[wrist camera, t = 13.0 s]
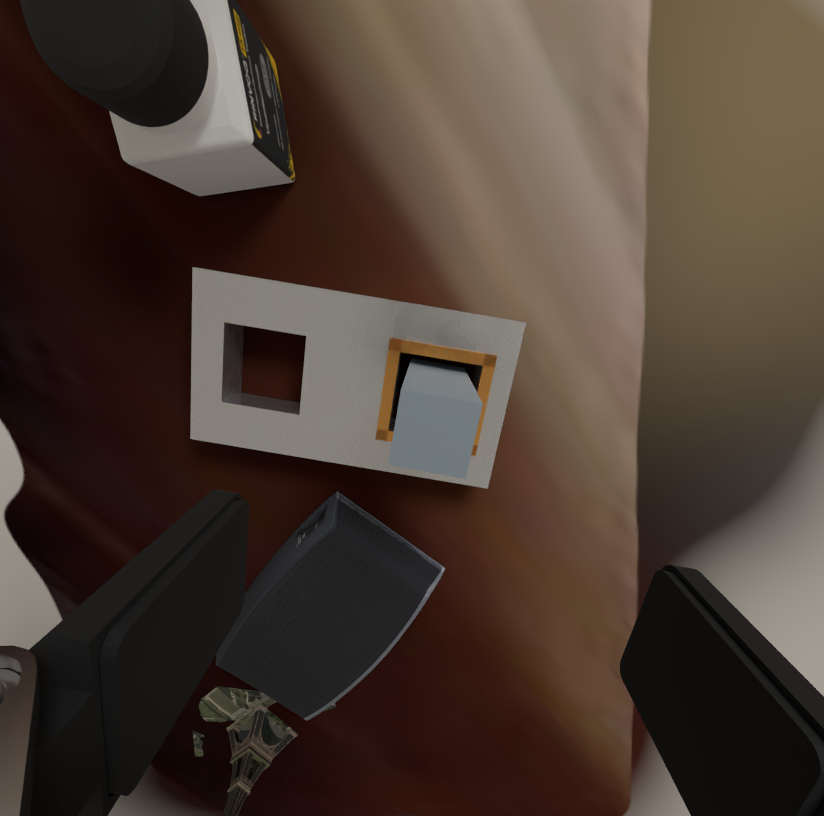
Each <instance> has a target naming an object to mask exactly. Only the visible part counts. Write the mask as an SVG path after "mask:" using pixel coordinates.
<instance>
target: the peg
mask: <svg viewBox="0 0 824 816" xmlns="http://www.w3.org/2000/svg"><path fill="white" fill-rule="evenodd" d="M482 406H483V403H482V401H481V399H480V397H479V395H478V394H477V392H476V390H475V388H474V386H473V384H472V382H471V380H470V378H469V376H468V374H467V372H466V371H465V369H464V368H463V367H458V366H452V365H447V364H441V363H436V362H430V361H425V360H420V359H414V358H411V361H410V364H409V367H408V370H407V373H406V376H405V379H404V382H403V385H402V388H401V393H400V398H399V404H398V410H397V416H396V421H395V427H394V433H393V439H392V444H391V450H390V456H389V462H388V465H391V466H397V467H402V468H408V469H413V470H419V471H424V472H430V473H435V474H441V475H446V476H452V477H457V478H463V479H466V475H467V470H468V466H469V462H470V458H471V453H472V449H473V445H474V440H475V436H476V432H477V427H478V423H479V419H480V415H481V410H482Z"/></svg>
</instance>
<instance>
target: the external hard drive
mask: <svg viewBox="0 0 824 816" xmlns="http://www.w3.org/2000/svg"><path fill="white" fill-rule="evenodd" d="M444 570H445V568H444V567H443V566H442V565H441V564H439V563H438V562H436V561H435V560H433V559H432V558H430V557H429V556H428V555H426V554H425V553H423V552H422V551H421V550H419V549H418V548H416V547H415V546H414V545H412V544H411V543H410V542H408V541H407V540H405V539H404V538H403V537H401V536H400V535H398V534H397V533H396V532H394V531H393V530H391V529H390V528H389V527H387V526H386V525H384V524H383V523H382V522H380V521H379V520H377V519H376V518H375V517H373V516H372V515H370V514H369V513H368V512H366V511H365V510H363V509H362V508H360V507H359V506H358V505H356V504H355V503H353V502H352V501H351V500H349V499H348V498H346V497H345V496H344V495H342V494H341V493H339V492H338V491H337V492H336V493H335V494H333V495H332V496H330V497H329V498H328V499H327V500H326V501H325V502H324V503H322V504H321V505H320V506H319V507H318V508H317V509H316V510H315V511H314V512H313V513H312V514H311V515H310V516H309V517H308V518H307V519H306V520H305V521H304V522H303V523H302V524H301V526H300V527H299V528H298V529H297V530H296V531H295V532H294V533H293V534H292V535H291V536H290V537H289V539H288V540H287V541H286V542H285V543H284V544H283V545H282V547H281V548H280V549H279V550H278V551H277V552H276V554H275V555H274V556H273V557H272V558H271V560H270V561H269V562H268V563H267V565H266V566H265V567H264V568H263V570H262V571H261V572H260V574H259V575H258V576H257V578H256V579H255V580H254V582H253V583H252V584H251V586H250V587H249V589H248V590H247V591H246V593H245V594H244V603H243V607H242V610H241V612H240V615H239V617H238V618H237V620H236V622H235V623H234V625H233V627H232V628H231V630H230V632H229V633H228V635H227V637H226V638H225V640H224V642H223V643H222V645H221V647H220V648H219V650H218V652H217V654H216V665H217V666H219V667H220V668H222V669H224V670H226V671H227V672H229V673H231V674H232V675H234V676H236V677H237V678H239V679H241V680H242V681H244V682H246V683H247V684H249V685H251V686H252V687H254V688H256V689H257V690H259V691H260V692H262V693H264V694H265V695H267V696H268V697H270V698H272V699H273V700H275V701H276V702H278V703H280V704H281V705H283V706H284V707H286V708H288V709H290V710H291V711H292V712H294V713H296V714H297V715H299V716H300V717H302V718H303V719H304V720H306V721H307V720H310V719H311V718H313V717H315V716H316V715H318V714H320V713H321V712H322V711H324V710H325V709H327V708H328V707H330V706H331V705H332V704H334V703H335V702H336V701H338V700H339V699H340V698H341V697H343V696H344V695H345V694H346V693H347V692H349V691H350V690H351V689H352V688H353V687H354V686H356V685H357V684H358V683H359V682H360V681H361V680H362V679H363V678H364V677H365V676H366V675H368V674H369V673H370V672H371V671H372V670H373V669H374V668H375V666H376V665H377V664H378V663H379V662H380V661H381V660H382V659H383V658H384V657H385V655H386V654H387V653H388V652H389V651H390V650H391V648H392V647H393V646H394V645H395V644H396V642H397V641H398V640H399V639H400V637H401V636H402V635H403V633H404V632H405V631H406V629H407V628H408V627H409V625H410V624H411V623H412V621H413V620H414V618H415V617H416V616H417V614H418V613H419V611H420V610H421V608H422V607H423V605H424V604H425V602H426V601H427V599H428V598H429V596H430V595H431V593H432V591H433V590H434V588H435V586H436V585H437V583H438V581H439V580H440V578H441V576H442V574H443V572H444Z"/></svg>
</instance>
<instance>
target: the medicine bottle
mask: <svg viewBox="0 0 824 816" xmlns="http://www.w3.org/2000/svg"><path fill="white" fill-rule="evenodd" d="M20 1H21V7H22V11H23V15H24V19H25V21H26V24H27V27H28V30H29V33H30V35H31V38H32V40H33V42H34V44H35V46H36V48H37V50H38V52H39V53H40V55H41V57H42V58H43V60H44V61H45V62H46V64H47V65H48V66H49V68H50V69H51V70H52V71H53V72H54V73H55V74H56V75H57V76H58V77H59V78H60V79H61V80H62V81H63V82H64V83H66V84H67V85H68V86H69V87H71V88H73V89H74V90H76V91H77V92H79V93H81V94H82V95H84V96H86V97H87V98H89V99H91V100H92V101H94V102H96V103H97V104H99V105H101V106H102V107H104V108H106V109H107V110H109V112H110V116H111V120H112V123H113V127H114V131H115V134H116V138H117V142H118V145H119V149H120V153H121V156H122V158H123V160H124V161H125V162H127V163H128V164H130V165H132V166H134V167H136V168H138V169H140V170H143V171H145V172H147V173H149V174H151V175H153V176H156V177H158V178H160V179H162V180H164V181H166V182H169V183H171V184H173V185H175V186H177V187H179V188H182V189H184V190H186V191H188V192H190V193H192V194H195V195H197V196H207V195H213V194H220V193H227V192H233V191H240V190H247V189H253V188H260V187H267V186H274V185H280V184H287V183H292V182H294V181H295V172H294V167H293V161H292V155H291V149H290V144H289V138H288V132H287V126H286V121H285V115H284V109H283V103H282V97H281V92H280V86H279V80H278V74H277V69H276V63H275V61H274V59H273V57H272V56H271V54H270V53H269V51H268V50H267V48H266V46H265V45H264V43H263V42H262V40H261V39H260V37H259V35H258V34H257V32H256V31H255V29H254V28H253V26H252V25H251V23H250V21H249V20H248V18H247V17H246V15H245V14H244V12H243V11H242V9H241V7H240V6H239V4H238V3H237V1H236V0H20Z"/></svg>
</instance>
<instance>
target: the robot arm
mask: <svg viewBox="0 0 824 816" xmlns="http://www.w3.org/2000/svg"><path fill="white" fill-rule="evenodd" d="M248 516H249V504H248V502H247V501H242V496H241V495H240V494H239V493H233V492H227V491H221V490H213V491H211V492H210V493H209V494H207V495H206V496H205V497H204V498H203V499H202V500H201V501H200V502H198V503H197V504H196V505H195V506H194V507H193V508H192V509H190V510H189V511H188V512H187V513H186V514H185V515H184V516H182V517H181V518H180V519H179V520H178V521H177V522H176V523H175V524H173V525H172V526H171V527H170V528H169V529H168V530H167V531H165V532H164V533H163V534H162V535H161V536H160V537H159V538H157V539H156V540H155V541H154V542H153V543H152V544H151V545H149V546H148V547H146V548H145V549H144V550H142V551H141V552H140V553H139V554H138V555H137V556H136V557H134V558H133V559H132V560H131V561H130V562H129V563H128V564H126V565H125V566H124V567H123V568H122V569H121V570H120V571H118V572H117V573H116V574H115V575H114V576H113V577H112V578H110V579H109V580H108V581H107V582H106V583H105V584H104V585H102V586H101V587H100V588H99V589H98V590H97V591H96V592H94V593H93V594H92V595H91V596H90V597H89V598H88V599H87V600H85V601H84V602H83V603H82V604H81V605H80V606H79V607H77V608H76V609H75V610H74V611H73V612H72V613H71V614H69V615H68V616H67V617H66V618H65V619H64V620H63V621H61V622H60V623H59V624H58V625H57V626H56V627H55V628H53V629H52V630H51V631H50V632H49V633H48V634H47V635H45V636H44V637H43V638H42V639H41V640H40V641H39V642H37V643H36V644H35V645H34V646H33V647H32V648H31V649H30V650H27V649H24V648H20V647H16V646H0V816H107V815H108V814H109V812H110V811H111V809H112V807H113V806H114V804H115V803H116V801H117V800H118V798H119V796H120V795H124V796H127V795H129V794H130V793H131V792H132V791H133V790H134V789H135V787H136V786H137V784H138V783H139V781H140V780H141V778H142V776H143V775H144V773H145V771H146V769H147V768H148V766H149V765H150V763H151V761H152V760H153V758H154V756H155V755H156V753H157V751H158V750H159V748H160V746H161V745H162V743H163V741H164V740H165V738H166V736H167V735H168V733H169V731H170V730H171V728H172V726H173V725H174V723H175V721H176V720H177V718H178V716H179V715H180V713H181V711H182V710H183V708H184V706H185V705H186V703H187V701H188V700H189V698H190V696H191V695H192V693H193V692H194V690H195V688H196V687H197V685H198V683H199V682H200V680H201V678H202V677H203V675H204V673H205V672H206V670H207V668H208V667H209V665H210V663H211V662H212V660H213V658H214V657H215V655H216V653H217V652H218V650H219V648H220V647H221V645H222V643H223V642H224V640H225V638H226V637H227V635H228V633H229V632H230V630H231V628H232V627H233V625H234V623H235V622H236V620H237V618H238V617H239V615H240V612H241V610H242V607H243V603H244V593H245V574H246V555H247V535H248ZM620 673H621V677H622V680H623V682H624V684H625V686H626V688H627V690H628V692H629V694H630V696H631V698H632V700H633V702H634V704H635V706H636V708H637V710H638V712H639V714H640V715H641V718H642V720H643V722H644V724H645V726H646V728H647V730H648V732H649V733H650V735H651V737H652V739H653V741H654V743H655V745H656V747H657V749H658V751H659V753H660V755H661V757H662V759H663V761H664V763H665V765H666V767H667V769H668V771H669V773H670V775H671V777H672V779H673V781H674V783H675V785H676V787H677V789H678V791H679V793H680V795H681V797H682V799H683V801H684V803H685V805H686V807H687V808H688V810H689V812H690V814H691V816H824V697H823V696H822V695H821V694H820V693H819V692H818V691H817V690H816V688H814V687H813V685H812V684H810V683H809V681H808V680H807V679H806V678H804V676H803V675H802V674H801V673H800V672H798V670H797V669H796V668H795V667H794V666H793V665H792V664H791V663H790V662H788V660H787V659H786V658H785V657H784V656H783V655H782V654H781V653H780V652H779V651H778V650H777V649H776V648H775V647H774V646H773V645H772V644H771V643H770V642H769V641H768V640H767V639H766V638H765V637H764V636H763V635H762V634H761V633H760V632H759V631H758V630H757V629H756V628H755V627H754V626H753V625H752V624H751V623H750V622H749V621H748V620H747V619H746V618H745V617H744V616H743V615H742V614H741V613H740V612H739V611H738V610H737V609H736V608H735V607H734V606H733V605H732V604H731V603H730V602H729V601H728V600H727V599H726V598H725V597H724V596H723V595H722V594H721V593H720V592H719V591H718V590H717V589H716V588H715V587H714V586H713V585H712V584H711V583H710V582H709V581H708V580H707V579H706V578H705V577H704V576H703V575H702V574H701V573H700V572H699V571H698V570H696V569H691V568H686V567H680V566H674V565H666V566H664V567H663V568H662V570H658V571H657V572H656V573H655V574H654V576H653V579H652V581H651V584H650V587H649V589H648V592H647V594H646V597H645V599H644V602H643V605H642V607H641V610H640V612H639V615H638V617H637V620H636V623H635V625H634V628H633V630H632V633H631V635H630V638H629V641H628V643H627V646H626V648H625V651H624V653H623V656H622V659H621V662H620Z"/></svg>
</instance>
